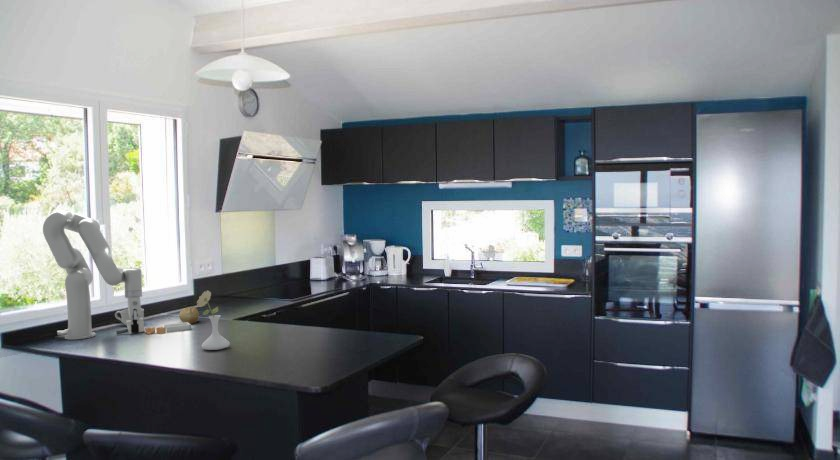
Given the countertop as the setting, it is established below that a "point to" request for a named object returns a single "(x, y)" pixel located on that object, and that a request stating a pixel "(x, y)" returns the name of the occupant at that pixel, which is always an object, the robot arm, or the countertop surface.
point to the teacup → (127, 315)
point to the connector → (128, 330)
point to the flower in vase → (215, 339)
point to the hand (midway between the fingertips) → (134, 331)
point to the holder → (177, 327)
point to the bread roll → (189, 315)
